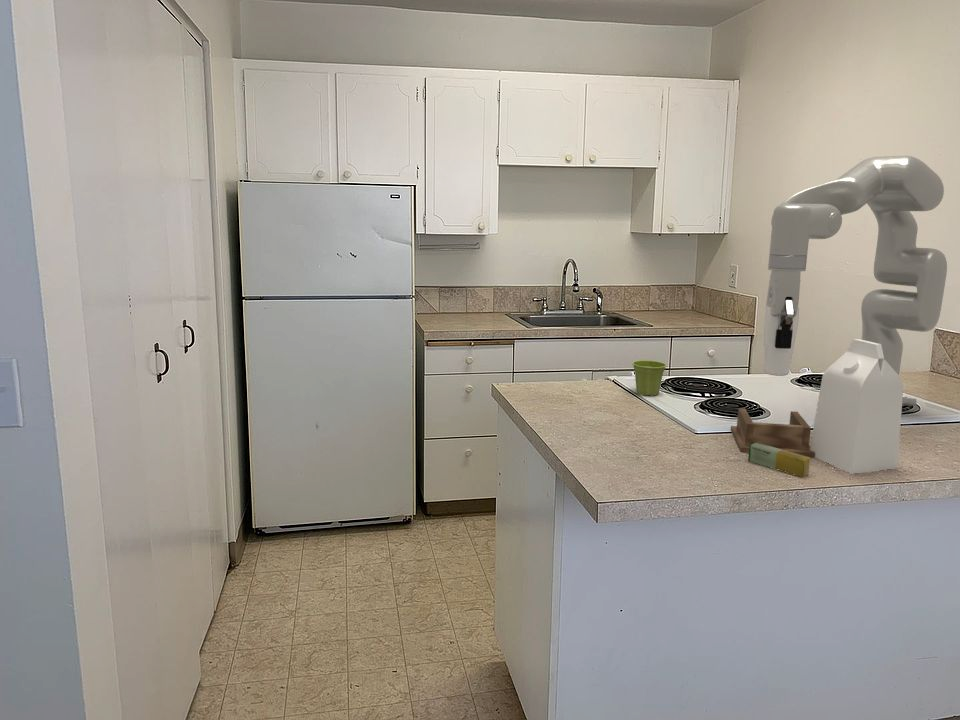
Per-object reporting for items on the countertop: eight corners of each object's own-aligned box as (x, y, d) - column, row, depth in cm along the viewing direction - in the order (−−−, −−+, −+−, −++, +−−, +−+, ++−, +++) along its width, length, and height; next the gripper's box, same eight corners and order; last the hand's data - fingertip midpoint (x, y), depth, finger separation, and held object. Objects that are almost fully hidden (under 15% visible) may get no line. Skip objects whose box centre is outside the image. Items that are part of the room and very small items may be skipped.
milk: (897, 470, 148) (914, 345, 142) (851, 476, 144) (867, 348, 139) (852, 451, 159) (866, 335, 153) (808, 456, 155) (821, 337, 150)
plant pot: (643, 387, 211) (645, 358, 209) (671, 394, 204) (673, 364, 202) (623, 393, 204) (625, 363, 202) (652, 399, 198) (653, 368, 196)
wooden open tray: (797, 434, 169) (800, 409, 168) (814, 457, 154) (817, 430, 152) (730, 429, 172) (732, 405, 170) (740, 452, 156) (743, 425, 155)
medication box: (746, 462, 151) (748, 443, 150) (753, 459, 153) (755, 441, 152) (802, 479, 142) (804, 459, 141) (809, 475, 144) (811, 456, 143)
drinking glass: (795, 378, 156) (802, 309, 153) (762, 376, 158) (769, 308, 155) (789, 371, 163) (795, 305, 160) (757, 369, 164) (763, 304, 161)
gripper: (761, 259, 164) (754, 337, 168) (776, 266, 148) (768, 352, 151) (796, 260, 163) (788, 338, 167) (815, 267, 146) (806, 353, 150)
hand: (779, 344), depth 159 cm, fingers closed on drinking glass, 6 cm apart
